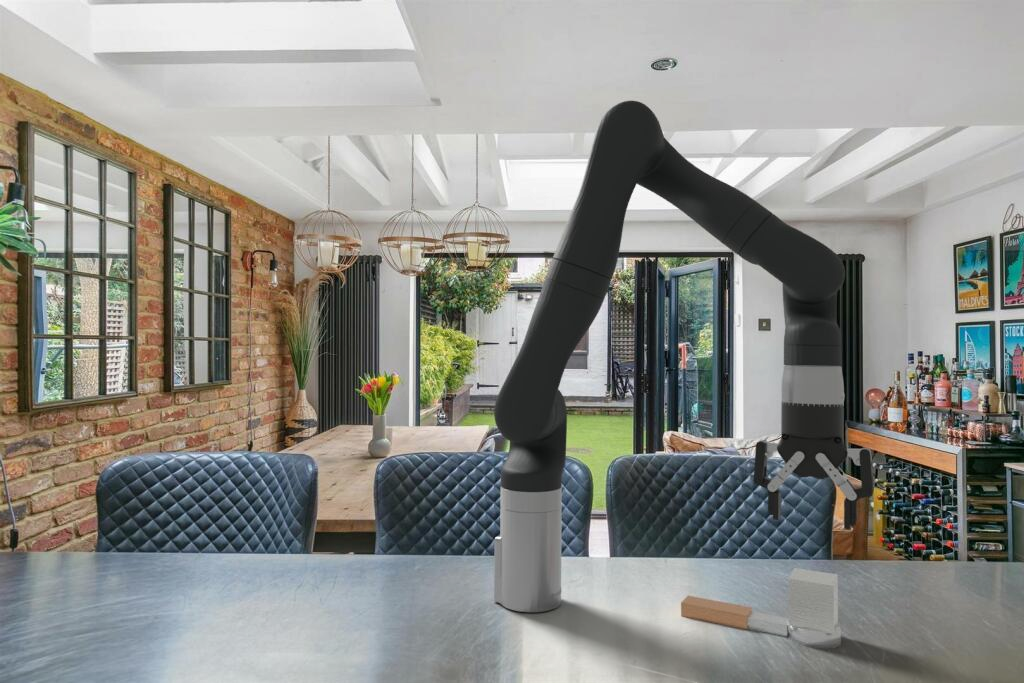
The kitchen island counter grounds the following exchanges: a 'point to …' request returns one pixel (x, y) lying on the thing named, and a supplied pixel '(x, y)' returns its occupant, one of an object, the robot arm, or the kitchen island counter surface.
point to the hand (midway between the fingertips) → (811, 523)
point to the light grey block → (813, 600)
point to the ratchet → (756, 622)
